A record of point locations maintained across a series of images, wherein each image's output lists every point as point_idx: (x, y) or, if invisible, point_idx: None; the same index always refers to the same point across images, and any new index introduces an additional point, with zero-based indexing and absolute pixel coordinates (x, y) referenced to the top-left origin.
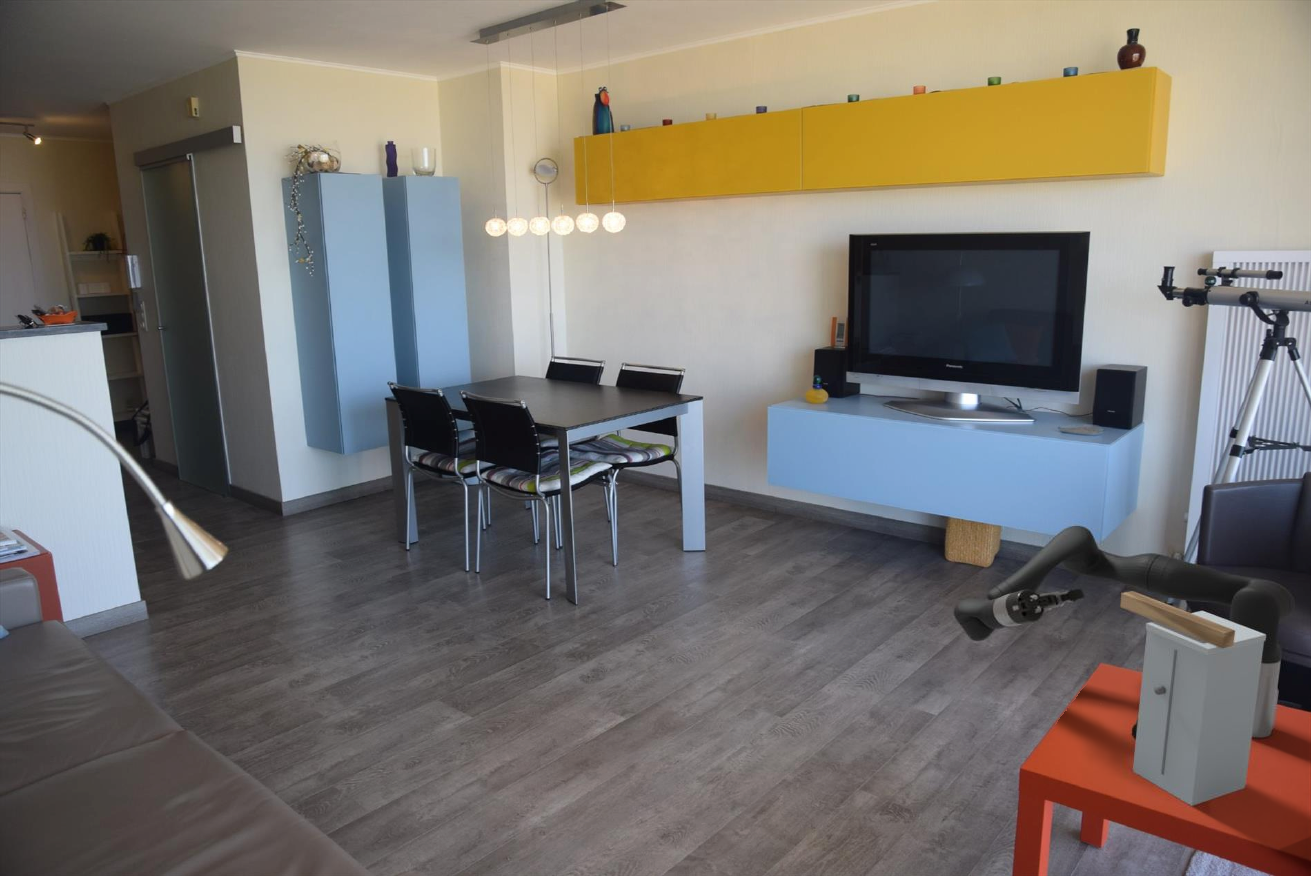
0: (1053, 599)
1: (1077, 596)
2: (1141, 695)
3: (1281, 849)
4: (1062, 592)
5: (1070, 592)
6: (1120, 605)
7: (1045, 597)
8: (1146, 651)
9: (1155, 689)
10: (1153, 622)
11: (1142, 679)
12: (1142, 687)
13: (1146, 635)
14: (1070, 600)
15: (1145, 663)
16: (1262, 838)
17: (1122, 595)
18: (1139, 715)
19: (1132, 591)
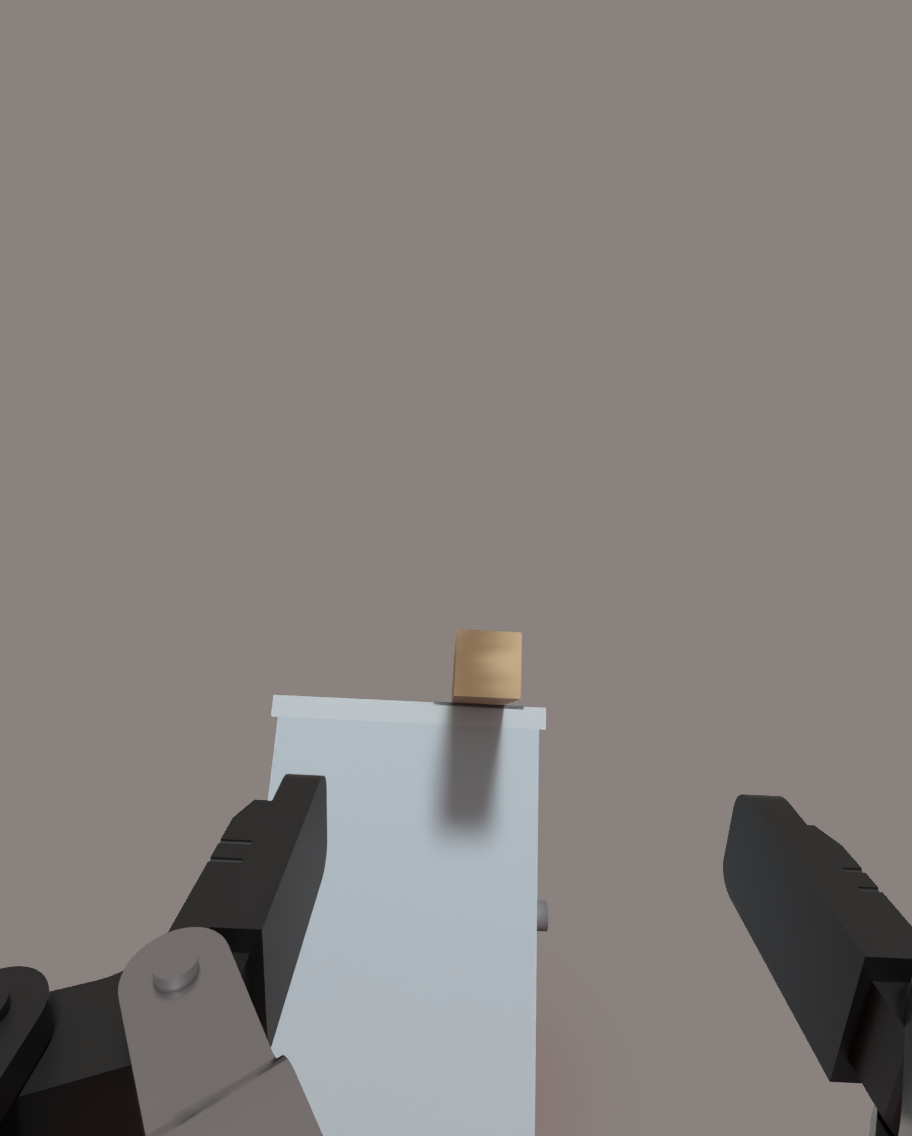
0: (740, 840)
1: (313, 883)
2: (535, 1010)
3: None
4: (250, 1017)
5: (281, 900)
6: (520, 691)
7: (833, 845)
8: (537, 814)
9: (547, 918)
10: (518, 706)
11: (535, 938)
12: (535, 971)
13: (538, 754)
14: (269, 1043)
15: (536, 863)
16: None
17: (521, 642)
18: (534, 1110)
19: (461, 630)
